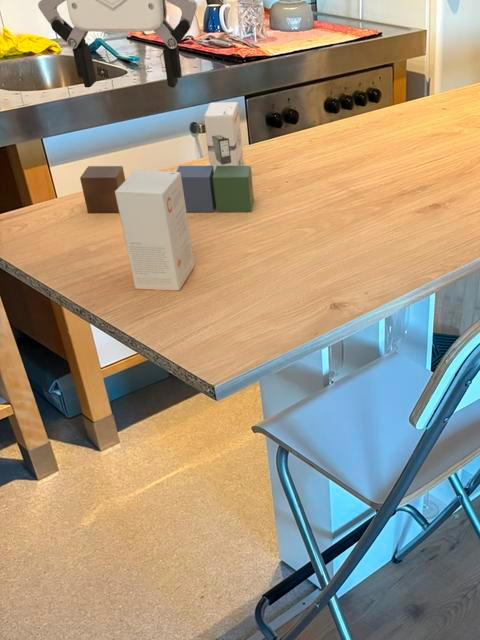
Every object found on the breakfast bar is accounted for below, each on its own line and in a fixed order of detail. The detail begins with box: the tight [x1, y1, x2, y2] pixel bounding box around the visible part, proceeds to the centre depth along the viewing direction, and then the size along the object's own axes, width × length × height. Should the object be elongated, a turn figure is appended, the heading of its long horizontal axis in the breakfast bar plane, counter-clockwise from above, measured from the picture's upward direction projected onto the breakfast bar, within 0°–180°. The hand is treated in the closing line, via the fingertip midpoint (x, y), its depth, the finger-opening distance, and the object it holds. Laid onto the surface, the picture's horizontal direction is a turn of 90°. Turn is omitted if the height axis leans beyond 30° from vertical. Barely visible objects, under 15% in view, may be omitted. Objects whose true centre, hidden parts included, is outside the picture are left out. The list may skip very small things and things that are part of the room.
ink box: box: [203, 101, 245, 172], centre depth 137 cm, size 9×5×12 cm, turn 3°
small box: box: [115, 170, 196, 292], centre depth 107 cm, size 8×6×13 cm
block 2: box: [175, 165, 216, 213], centre depth 130 cm, size 6×6×6 cm
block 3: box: [213, 165, 255, 213], centre depth 130 cm, size 6×6×6 cm
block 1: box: [79, 165, 126, 214], centre depth 129 cm, size 6×6×6 cm
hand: (132, 84), depth 96 cm, fingers open, 9 cm apart
